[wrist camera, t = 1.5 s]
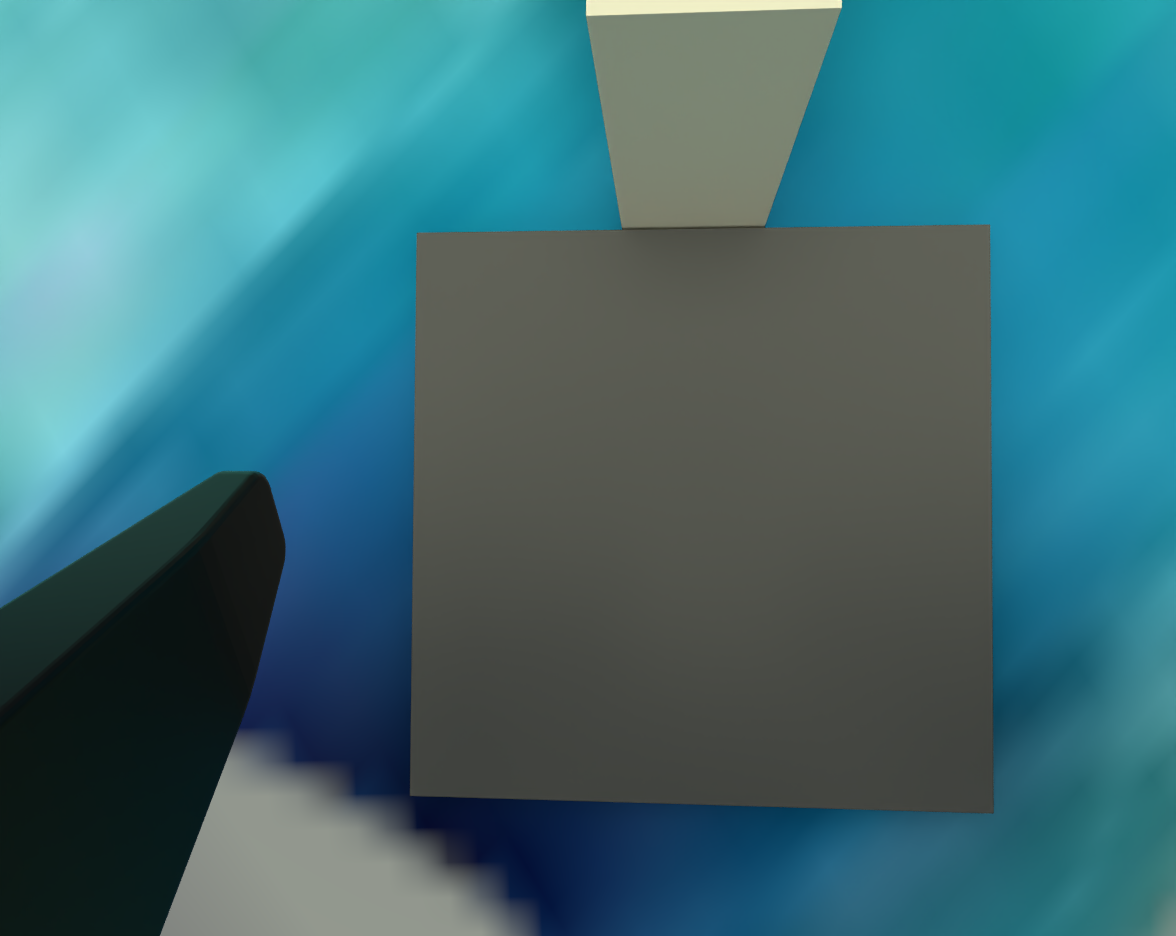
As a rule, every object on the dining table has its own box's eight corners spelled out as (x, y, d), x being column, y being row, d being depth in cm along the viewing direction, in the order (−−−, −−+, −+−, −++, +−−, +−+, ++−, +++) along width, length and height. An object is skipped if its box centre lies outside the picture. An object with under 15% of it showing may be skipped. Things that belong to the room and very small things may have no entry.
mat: (984, 804, 21) (993, 813, 20) (416, 787, 22) (410, 795, 21) (980, 232, 21) (990, 224, 21) (423, 240, 22) (416, 233, 22)
